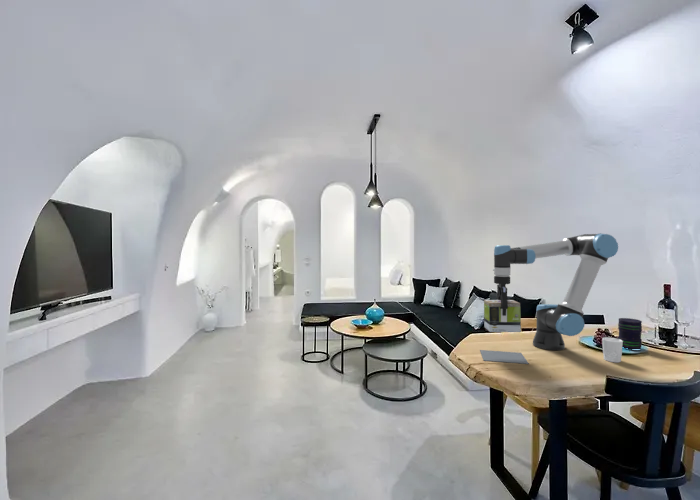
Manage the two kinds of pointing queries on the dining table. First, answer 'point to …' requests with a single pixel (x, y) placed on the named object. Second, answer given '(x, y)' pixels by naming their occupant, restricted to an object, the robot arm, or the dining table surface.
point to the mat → (503, 356)
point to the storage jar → (630, 333)
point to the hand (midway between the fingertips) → (501, 319)
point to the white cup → (612, 349)
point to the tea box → (494, 316)
